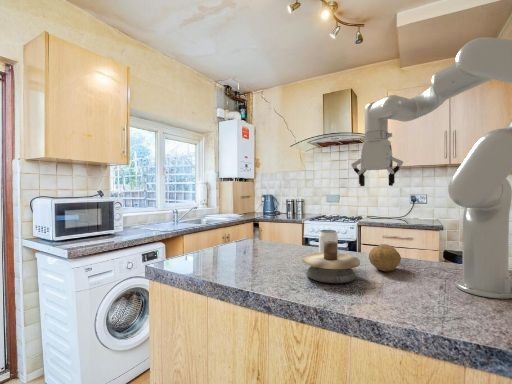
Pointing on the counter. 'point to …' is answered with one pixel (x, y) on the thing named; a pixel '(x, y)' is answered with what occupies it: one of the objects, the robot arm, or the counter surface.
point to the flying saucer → (331, 275)
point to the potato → (384, 257)
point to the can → (327, 238)
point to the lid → (331, 258)
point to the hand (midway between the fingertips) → (376, 185)
